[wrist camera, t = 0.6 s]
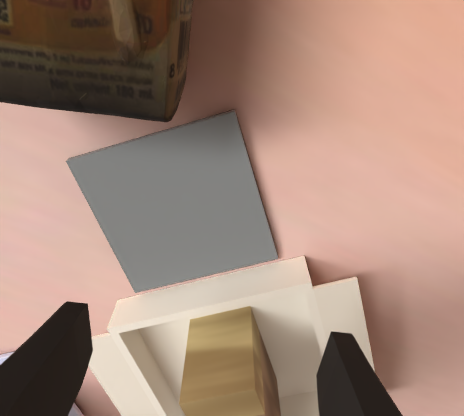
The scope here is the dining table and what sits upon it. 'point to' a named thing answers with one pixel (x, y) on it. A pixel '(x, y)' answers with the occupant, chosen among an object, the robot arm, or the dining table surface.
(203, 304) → the white tray
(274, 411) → the walnut block
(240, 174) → the mat
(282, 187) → the dining table surface
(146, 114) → the beverage carton
